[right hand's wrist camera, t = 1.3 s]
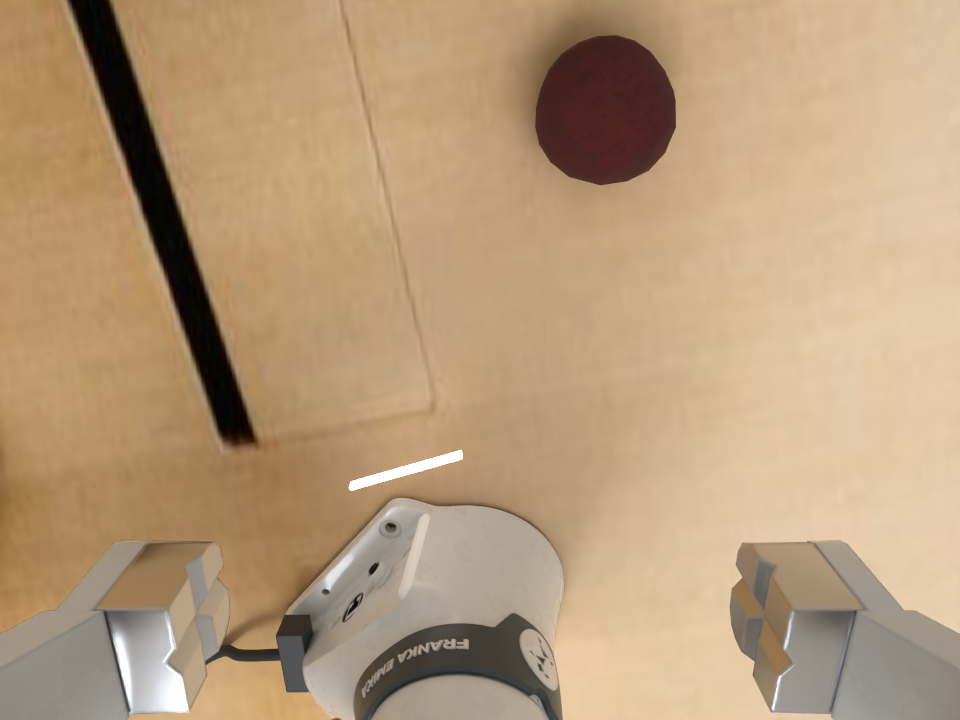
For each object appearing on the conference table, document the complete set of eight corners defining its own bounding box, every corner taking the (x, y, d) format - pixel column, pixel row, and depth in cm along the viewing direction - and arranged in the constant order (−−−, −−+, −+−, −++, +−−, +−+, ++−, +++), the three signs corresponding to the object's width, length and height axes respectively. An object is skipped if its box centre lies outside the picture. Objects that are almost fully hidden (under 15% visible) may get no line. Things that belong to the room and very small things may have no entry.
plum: (607, 13, 37) (630, -7, 31) (684, 126, 39) (722, 130, 33) (505, 103, 39) (506, 102, 33) (584, 206, 41) (600, 226, 35)
